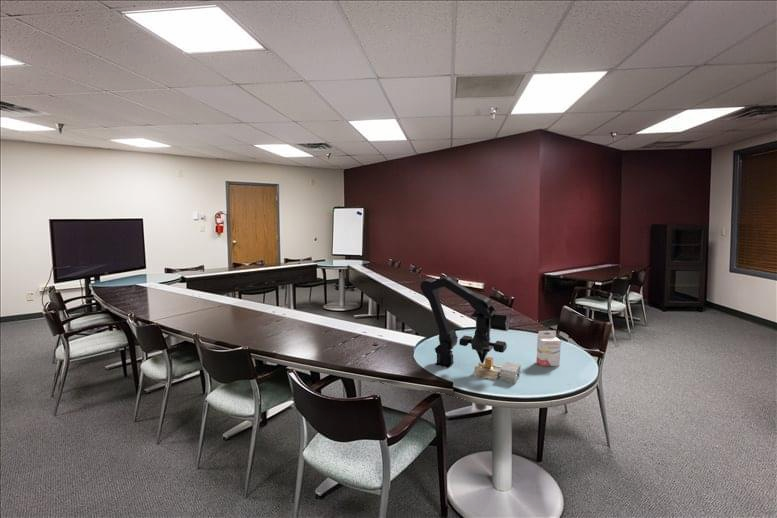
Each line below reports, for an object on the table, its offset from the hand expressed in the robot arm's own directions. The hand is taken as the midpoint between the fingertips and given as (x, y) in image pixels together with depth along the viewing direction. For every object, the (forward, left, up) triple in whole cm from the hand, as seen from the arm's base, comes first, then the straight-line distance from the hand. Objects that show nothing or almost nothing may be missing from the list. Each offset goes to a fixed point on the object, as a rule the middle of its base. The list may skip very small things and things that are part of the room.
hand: (482, 362), depth 161 cm
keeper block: (+12, 0, -4) cm, 12 cm away
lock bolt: (+6, 0, -3) cm, 6 cm away
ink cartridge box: (+23, +22, -4) cm, 32 cm away
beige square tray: (+2, 0, -4) cm, 5 cm away
